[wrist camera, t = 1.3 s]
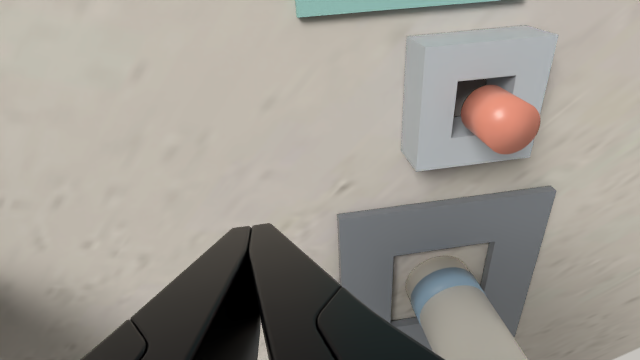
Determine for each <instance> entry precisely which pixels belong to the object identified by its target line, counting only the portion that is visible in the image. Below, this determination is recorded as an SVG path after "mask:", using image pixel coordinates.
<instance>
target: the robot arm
mask: <svg viewBox="0 0 640 360" xmlns="http://www.w3.org/2000/svg"><path fill="white" fill-rule="evenodd" d="M260 323H262V328H263V333H264V338H265V343H266V348H267V353H268V358H269V360H445V359H443V358H442V357H440V356H439V355H437V354H436V353H434V352H433V351H431V350H430V349H428V348H427V347H425V346H424V345H422V344H421V343H419V342H418V341H416V340H415V339H413V338H412V337H410V336H408V335H407V334H405V333H404V332H402V331H401V330H399V329H398V328H396V327H395V326H393V325H392V324H391V323H389V322H388V321H386V320H385V319H383V318H382V317H381V316H379V315H378V314H376V313H375V312H374V311H372V310H371V309H370V308H368V307H367V306H366V305H365V304H364V303H362V302H361V301H360V300H359V299H357V298H356V297H355V296H354V295H353V294H351V293H350V292H349V291H348V290H347V289H346V288H344V287H342V286H341V285H340V284H339V283H338V282H337V281H336V280H335V279H333V278H332V277H331V276H330V275H329V274H328V273H327V272H325V271H324V270H323V269H322V268H321V267H320V266H319V265H317V264H316V263H315V262H314V261H313V260H312V259H311V258H309V257H308V256H307V255H306V254H305V253H304V252H303V251H302V250H300V249H299V248H298V247H297V246H296V245H295V244H294V243H292V242H291V241H290V240H289V239H288V238H287V237H286V236H284V235H283V234H282V233H281V232H280V231H279V230H278V229H276V228H275V227H274V226H273V225H272V224H270V223H267V224H259V225H254V226H253V227H252V228H251V227H250V226H245V227H237V228H233V229H231V230H230V231H229V232H228V233H226V234H225V235H224V236H223V237H222V238H221V239H220V240H218V241H217V242H216V243H215V244H214V245H213V246H212V247H211V248H209V249H208V250H207V251H206V252H205V253H204V254H203V255H201V256H200V257H199V258H198V259H197V260H196V261H195V262H193V263H192V264H191V265H190V266H189V267H188V268H187V269H186V270H184V271H183V272H182V273H181V274H180V275H179V276H178V277H176V278H175V279H174V280H173V281H172V282H171V283H170V284H169V285H167V286H166V287H165V288H164V289H163V290H162V291H161V292H159V293H158V294H157V295H156V296H155V297H154V298H153V299H151V300H150V301H149V302H148V303H147V304H146V305H145V306H144V307H142V308H141V309H140V310H139V311H138V312H137V313H136V314H134V315H133V316H132V317H131V319H130V320H127V321H125V322H124V323H123V324H122V325H121V326H120V327H119V328H117V329H116V330H115V331H114V332H113V333H112V334H111V335H109V336H108V337H107V338H106V339H105V340H103V341H102V342H101V343H100V344H99V345H97V346H96V347H95V348H94V349H93V350H92V351H90V352H89V353H88V354H87V355H86V356H84V357H83V358H82V359H81V360H257V357H258V347H259V337H260Z"/></svg>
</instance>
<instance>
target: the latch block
mask: <svg viewBox="0 0 640 360" xmlns="http://www.w3.org/2000/svg"><path fill="white" fill-rule="evenodd" d="M557 39H558V34H555V33H551V32H548V31H544V30H541V29H538V28H534V27H531V26H527V25H524V26H513V27H502V28H491V29H481V30H470V31H459V32H448V33H437V34H426V35H415V36H407V42H406V61H405V81H404V101H403V121H402V140H401V151H402V153H403V154H404V155H405V157H406V158H407V160H408V161H409V162H410V164H411V165H412V166H413V168H414V169H415V171H416V172H417V171H425V170H433V169H441V168H449V167H457V166H465V165H473V164H481V163H489V162H497V161H505V160H513V159H521V158H529V157H530V155H531V150H532V146H533V142H534V139H533V140H532V141H531V142H530V143H529V144H528V145H527V146H526V147H525V148H523V149H522V150H520V151H518V152H515V153H512V154H499V153H496V152H495V151H493V150H492V149H491V148H490V147H488V146H487V145H486V144H485V143H484V142H482V141H481V140H480V139H479V138H478V137H477V136H475V135H474V134H473V133H472V132H471V131H470V130H468V129H467V128H466V127H465V126H464V124H463V122H462V120H461V116H460V117H454V109H455V101H456V92H457V84H458V81H466V80H476V79H486V78H487V83H486V85H497V86H499V87H501V88H503V89H505V90H506V91H508V92H510V93H512V94H513V95H515V96H517V97H519V98H520V99H522V100H524V101H526V102H527V103H529V104H531V105H533V106H534V107H535V108H536V109H537V110H538V112H539V115H540V112H541V108H542V103H543V99H544V95H545V91H546V86H547V82H548V78H549V74H550V69H551V65H552V61H553V56H554V52H555V48H556V44H557Z"/></svg>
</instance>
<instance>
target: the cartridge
mask: <svg viewBox="0 0 640 360" xmlns="http://www.w3.org/2000/svg"><path fill="white" fill-rule="evenodd" d="M406 292H407V295H408V297H409V299H410V301H411V305H412V308H413V310H414V312H415V314H416V317H417V319H418V321H419V323H420V326H421V327H422V328H423V330H424V333H425V335H426V337H427V339H428V342H429V344H430V346H431V348H432V351H433V352H434V353H436V354H437V355H439V356H440V357H442V358H443V359H445V360H528V358H527V357H526V355H525V354H524V352H523V351H522V349H521V348H520V346H519V345H518V343H517V342H516V340H515V339H514V337H513V336H512V334H511V333H510V331H509V330H508V328H507V327H506V325H505V324H504V322H503V321H502V319H501V318H500V316H499V315H498V313H497V312H496V310H495V309H494V307H493V306H492V304H491V303H490V301H489V300H488V298H487V296H486V294H485V293H484V291H483V290H482V288H481V287H480V285H479V284H478V282H477V281H476V279H475V278H474V276H473V275H472V274H471V273H470V272H469V270H468V269H467V267H466V266H465V264H464V263H463V262H462V261H461V260H459V259H458V258H455V257H451V256H439V257H434V258H431V259H429V260H426V261H424V262H423V263H421V264H419V265H418V266H417V267H416V268H415V269H414V270H413V271H412V272H411V273H410V275H409V276H408V278H407V281H406Z"/></svg>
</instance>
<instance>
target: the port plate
mask: <svg viewBox="0 0 640 360" xmlns="http://www.w3.org/2000/svg"><path fill="white" fill-rule="evenodd" d="M555 194H556V190H555V189H554V188H553V187H551V186H545V187H538V188H530V189H523V190H515V191H508V192H500V193H493V194H485V195H478V196H470V197H463V198H455V199H448V200H440V201H433V202H425V203H418V204H410V205H403V206H395V207H388V208H380V209H373V210H365V211H358V212H350V213H343V214H337V221H338V244H339V268H340V285H341V286H342V287H344V288H346V289H347V290H348V291H349V292H350V293H351V294H353V295H354V296H355V297H356V298H357V299H359V300H360V301H361V302H362V303H364V304H365V305H366V306H367V307H368V308H370V309H371V310H372V311H374V312H375V313H376V314H378V315H379V316H381V317H382V318H383V319H385V320H386V321H388V322H389V323H391V324H392V325H393V326H395V327H396V328H398V329H399V330H401V331H402V332H404V333H405V334H407V335H408V336H410V337H412V338H413V339H415V340H416V341H418V342H419V343H421V344H422V345H424V346H425V347H427V348H428V349H430V350H431V351H432V348H431V346H430V344H429V342H428V339H427V337H426V335H425V333H424V330H423V328H422V327H421V326H420V323H419V321H418V319H417V317H414V318H408V319H402V320H396V321H391V300H392V279H393V258H394V256H398V255H405V254H412V253H419V252H426V251H433V250H440V249H446V248H453V247H460V246H467V245H474V244H481V243H488V242H489V246H488V251H487V256H486V261H485V266H484V271H483V276H482V281H481V286H480V287H481V288H482V290H483V291H484V293H485V294H486V296H487V298H488V300H489V301H490V303H491V304H492V306H493V307H494V309H495V310H496V312H497V313H498V315H499V316H500V318H501V319H502V321H503V322H504V324H505V325H506V327H507V328H508V330H509V331H510V333H511V334H512V336H513V337H515V334H516V330H517V327H518V323H519V320H520V316H521V313H522V309H523V306H524V302H525V299H526V295H527V292H528V288H529V285H530V281H531V278H532V275H533V271H534V268H535V264H536V261H537V257H538V254H539V250H540V247H541V243H542V240H543V236H544V233H545V229H546V226H547V222H548V219H549V215H550V212H551V208H552V205H553V201H554V198H555Z"/></svg>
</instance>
